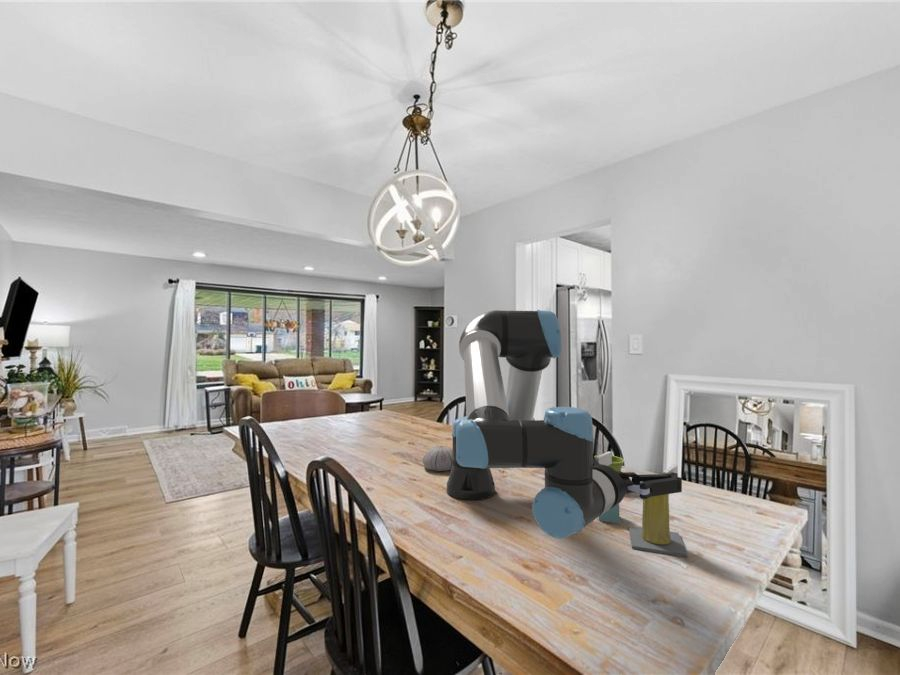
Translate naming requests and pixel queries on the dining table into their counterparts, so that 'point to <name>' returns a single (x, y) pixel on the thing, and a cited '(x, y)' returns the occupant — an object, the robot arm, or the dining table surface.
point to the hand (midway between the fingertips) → (641, 464)
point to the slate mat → (672, 548)
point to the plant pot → (615, 463)
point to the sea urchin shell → (438, 459)
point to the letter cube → (611, 515)
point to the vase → (656, 520)
